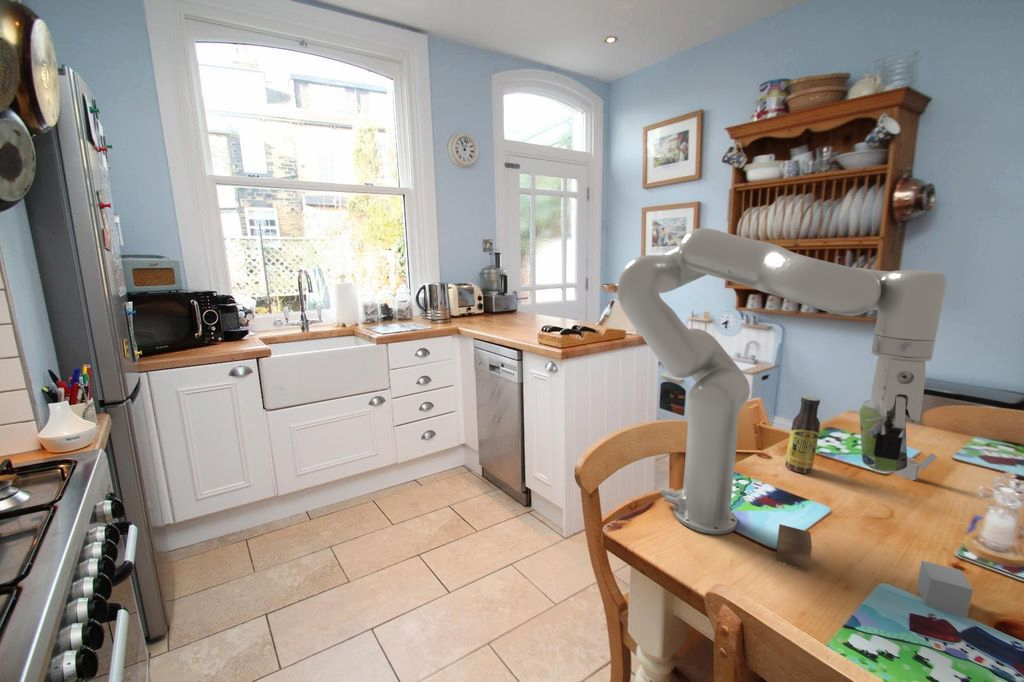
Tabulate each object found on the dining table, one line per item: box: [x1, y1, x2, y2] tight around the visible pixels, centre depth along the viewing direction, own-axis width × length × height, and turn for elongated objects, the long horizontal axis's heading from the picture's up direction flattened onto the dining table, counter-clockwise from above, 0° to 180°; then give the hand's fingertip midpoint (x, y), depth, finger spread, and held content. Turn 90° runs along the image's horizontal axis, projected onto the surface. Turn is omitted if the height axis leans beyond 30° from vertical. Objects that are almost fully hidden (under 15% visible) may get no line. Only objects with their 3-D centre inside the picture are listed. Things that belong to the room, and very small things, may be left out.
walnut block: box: [775, 523, 813, 572], centre depth 84 cm, size 5×5×5 cm
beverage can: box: [859, 399, 908, 473], centre depth 77 cm, size 6×7×12 cm
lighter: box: [894, 452, 938, 481], centre depth 114 cm, size 7×2×8 cm, turn 33°
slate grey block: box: [916, 560, 974, 618], centre depth 74 cm, size 5×5×5 cm
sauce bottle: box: [785, 395, 821, 474], centre depth 118 cm, size 7×6×20 cm
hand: (883, 452), depth 76 cm, fingers closed on beverage can, 3 cm apart
